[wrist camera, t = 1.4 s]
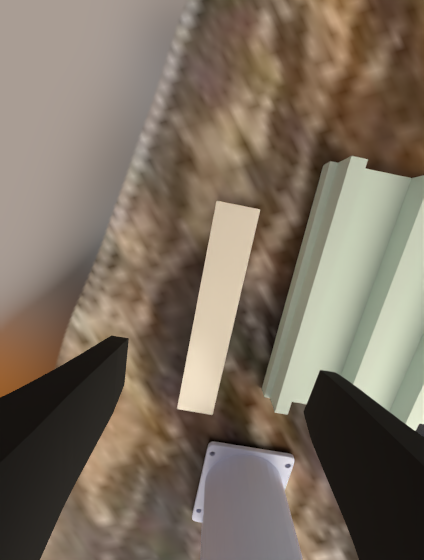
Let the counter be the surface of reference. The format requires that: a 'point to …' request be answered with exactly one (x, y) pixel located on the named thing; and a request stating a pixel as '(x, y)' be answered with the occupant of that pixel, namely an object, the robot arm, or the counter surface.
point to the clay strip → (217, 304)
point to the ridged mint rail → (357, 293)
